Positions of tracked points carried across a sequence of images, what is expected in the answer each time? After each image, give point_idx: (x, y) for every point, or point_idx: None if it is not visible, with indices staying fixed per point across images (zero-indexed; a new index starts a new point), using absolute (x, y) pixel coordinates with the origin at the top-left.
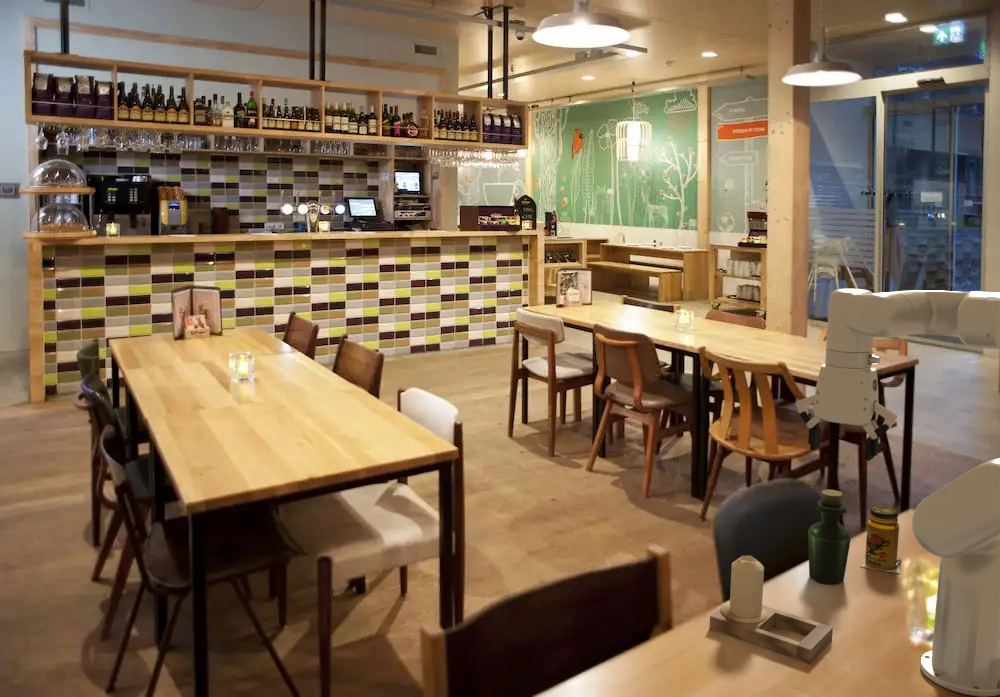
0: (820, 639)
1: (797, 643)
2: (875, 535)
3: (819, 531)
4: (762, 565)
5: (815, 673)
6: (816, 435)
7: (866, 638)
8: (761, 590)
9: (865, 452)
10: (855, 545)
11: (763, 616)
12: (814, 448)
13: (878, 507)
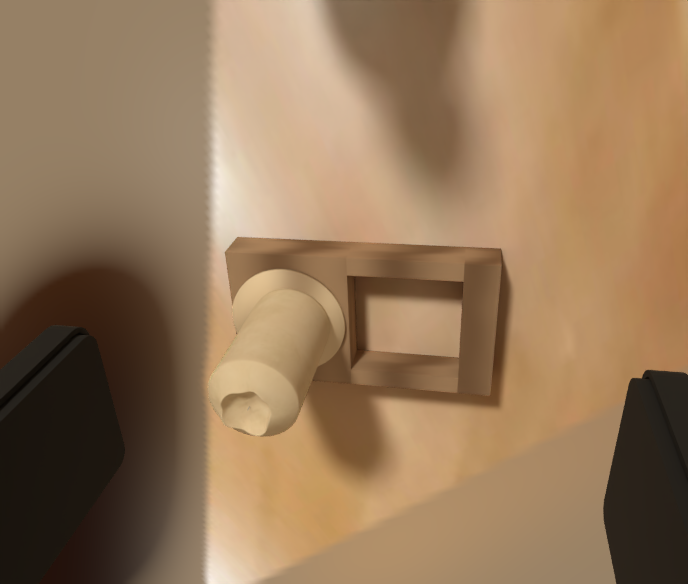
0: (494, 341)
1: (455, 386)
2: None
3: None
4: (281, 377)
5: (512, 400)
6: (36, 531)
7: (579, 178)
8: (314, 367)
9: (619, 579)
10: None
11: (337, 321)
12: (117, 459)
13: None
